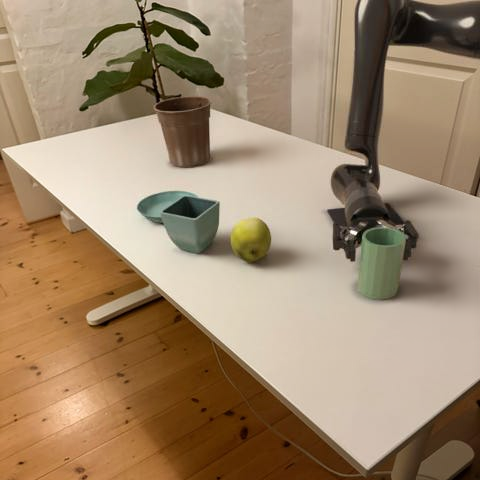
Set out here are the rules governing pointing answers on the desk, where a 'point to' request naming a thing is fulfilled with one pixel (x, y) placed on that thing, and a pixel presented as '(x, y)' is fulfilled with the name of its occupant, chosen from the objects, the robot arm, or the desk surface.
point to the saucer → (159, 203)
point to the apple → (251, 239)
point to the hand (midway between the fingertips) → (379, 256)
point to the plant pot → (185, 129)
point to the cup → (380, 262)
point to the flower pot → (192, 222)
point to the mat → (339, 217)
